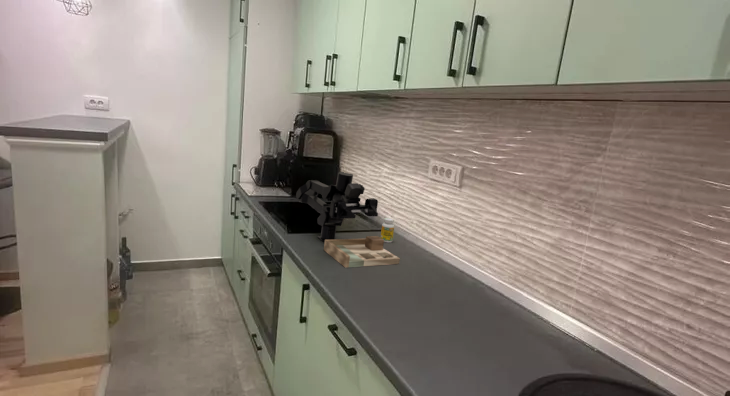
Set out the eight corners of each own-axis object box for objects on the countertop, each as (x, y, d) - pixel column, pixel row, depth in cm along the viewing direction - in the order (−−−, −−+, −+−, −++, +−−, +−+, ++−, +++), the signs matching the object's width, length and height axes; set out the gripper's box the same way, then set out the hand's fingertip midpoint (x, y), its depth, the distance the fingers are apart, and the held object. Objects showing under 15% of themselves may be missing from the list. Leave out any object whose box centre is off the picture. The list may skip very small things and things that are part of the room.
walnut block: (364, 246, 155) (366, 236, 154) (375, 245, 158) (377, 236, 157) (371, 250, 151) (372, 240, 150) (382, 250, 153) (384, 240, 153)
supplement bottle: (390, 239, 177) (394, 218, 175) (393, 243, 172) (396, 221, 170) (378, 238, 176) (382, 217, 174) (381, 242, 171) (384, 220, 169)
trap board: (323, 250, 150) (324, 239, 150) (373, 247, 162) (375, 238, 161) (345, 267, 135) (346, 256, 135) (399, 263, 146) (400, 253, 146)
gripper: (324, 181, 146) (345, 194, 133) (368, 180, 156) (391, 192, 143) (321, 210, 149) (341, 226, 136) (364, 207, 159) (387, 222, 146)
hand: (366, 215), depth 140 cm, fingers open, 9 cm apart
